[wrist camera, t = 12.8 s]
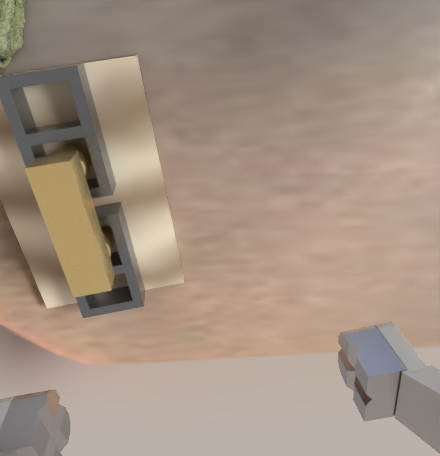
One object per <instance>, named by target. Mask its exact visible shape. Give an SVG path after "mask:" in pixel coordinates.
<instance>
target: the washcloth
mask: <svg viewBox="0 0 440 456" xmlns="http://www.w3.org/2000/svg"><path fill="white" fill-rule="evenodd" d="M24 3H25V2H24V0H0V68H5V67H6V66H8V64H9V62H10V61H11V57H12V54H14V53H16V51H17V50H19V49H21V47H22V45H23V39H22V37H23V35H22V34H23V28H24V24H25V23H26V20H25V15H24V11H25V10H24V8H23V6H24Z"/></svg>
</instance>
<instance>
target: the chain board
mask: <svg viewBox="0 0 440 456" xmlns="http://www.w3.org/2000/svg"><path fill="white" fill-rule="evenodd" d="M80 64H83V63H80ZM73 65H76V64H73ZM66 66H69V65H66ZM60 67H62V66H60ZM84 67H85V71H86V74H87V78H88V82H89V85H90V89H91V93H92V97H93V100H94V104H95V108H96V111H97V115H98V119H99V122H100V126H101V130H102V133H103V137H104V141H105V144H106V148H107V152H108V156H109V159H110V163H111V167H112V170H113V174H114V178H115V181H116V187H115V190H114V193H113V195H111V196H105V197H99V198H93V199H92V200H93V203H94V206H100V205H106V204H111V203H117V202H121V203H122V207H123V211H124V215H125V218H126V222H127V226H128V229H129V233H130V237H131V240H132V244H133V248H134V251H135V255H136V259H137V262H138V266H139V270H140V274H141V277H142V281H143V285H144V288H145V290H147V289H152V288H157V287H163V286H168V285H173V284H178V283H184V275H183V271H182V266H181V261H180V256H179V251H178V247H177V242H176V237H175V232H174V227H173V223H172V218H171V213H170V208H169V204H168V199H167V194H166V189H165V184H164V180H163V175H162V170H161V165H160V160H159V156H158V151H157V146H156V141H155V137H154V132H153V127H152V122H151V117H150V113H149V108H148V103H147V98H146V93H145V89H144V84H143V79H142V74H141V69H140V65H139V60H138V55H134V56H127V57H121V58H114V59H107V60H100V61H93V62H87V63H84ZM53 68H56V67H53ZM46 69H49V68H46ZM39 70H42V69H39ZM32 71H35V70H32ZM26 72H28V71H26ZM19 73H22V72H19ZM12 74H15V73H12ZM5 75H8V74H5ZM0 76H3V75H0ZM23 90H24V93H25V96H26V99H27V101H28V104H29V107H30V110H31V113H32V116H33V119H34V121H35V124H36V127H41V126H48V125H54V124H60V123H67V122H73V121H79V120H80V119H79V115H78V112H77V109H76V105H75V102H74V98H73V95H72V92H71V88H70V85H69V81H68V80H67V81H61V82H54V83H47V84H41V85H34V86H27V87H23ZM67 143H78V144H81V145H83V146H84V147H85V148H87V149H88V146H87V143H86V139H85V137H83V138H77V139H71V140H65V141H58V142H52V143H46V144H43V147H44V150H45V153H46V156H49V155H55V154H56V152H57V151H58V150H59V149H60V148H61V147H62V146H63V145H65V144H67ZM88 151H89V149H88ZM25 167H26V166H25V163H24V161H23V158H22V155H21V153H20V150H19V148H18V145H17V142H16V140H15V137H14V134H13V132H12V129H11V126H10V124H9V121H8V119H7V116H6V113H5V111H4V108H3V105H2V103H1V100H0V200H1V203H2V205H3V207H4V209H5V212H6V214H7V216H8V219H9V221H10V223H11V226H12V228H13V230H14V233H15V235H16V237H17V240H18V242H19V244H20V247H21V249H22V251H23V254H24V256H25V258H26V261H27V263H28V265H29V268H30V270H31V272H32V275H33V277H34V279H35V282H36V284H37V286H38V289H39V291H40V293H41V296H42V298H43V300H44V303H45V305H46V307H47V308H53V307H58V306H63V305H68V304H74V303H77V300H76V298H74V297H73V295H72V292H71V290H70V287H69V284H68V282H67V279H66V277H65V274H64V271H63V269H62V266H61V264H60V261H59V258H58V256H57V253H56V250H55V248H54V245H53V243H52V240H51V237H50V235H49V232H48V230H47V227H46V224H45V222H44V219H43V216H42V214H41V211H40V209H39V206H38V203H37V201H36V198H35V196H34V193H33V190H32V188H31V185H30V182H29V180H28V177H27V175H26V172H25V169H24V168H25ZM92 178H97V177H96V173H95V170H94V166H93V163H92V165H91V167H90V169H89V171H88V173H87V175H86V179H92ZM107 226H109V227H110V228H111V225H107ZM111 229H112V228H111ZM112 252H118V248H117V245H116V241H115V239H114V243H113V248H112ZM112 252H111V253H112ZM125 286H128V282H127V279H126V275H125V273H121V274H116V275H114V281H113V286H112V289H114V288H120V287H125Z"/></svg>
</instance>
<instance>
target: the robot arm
mask: <svg viewBox="0 0 440 456" xmlns="http://www.w3.org/2000/svg"><path fill="white" fill-rule="evenodd" d="M338 342H339V344H340V346H341V348H342V349H341V350H340V351H339V352H338V362H339V368H340V372H341V375H342V377H343V379H344V381H345V384H346V385H347V387H349V388H350V389H352V390H353V391H354V398H353V400H354V402H355V404H356V406H357V408H358V410H359V412H360V414H361V416H362V418H363V420H364V421H369V420H375V419H380V418H386V417H392V416H395V418H396V419H397V420H398V421H399V422H401V423H402V424H403V425H405V426H406V427H407V428H408V429H410V430H411V431H412V432H414V433H415V434H416V435H417V436H418V437H420V438H421V439H422V440H423V441H425V442H426V443H427V444H429V445H430V446H431V447H432V448H434V449H435V450H436V451H437V452H438V453H440V370H439V369H438V368H436V367H434V366H426V365H425V364H424V362H423V361H422V360H421V358H420V357H419V356H418V354H417V353H416V352H415V350H414V349H413V348H412V346H411V345H410V344H409V343H408V341H407V340H406V339H405V337H404V336H403V335H402V333H401V332H400V331H399V329H398V328H397V327H396V325H395V324H393V323H392V322H390V323H385V324H380V325H375V326H369V327H364V328H359V329H354V330H350V331H345V332H340V334H339V340H338ZM59 399H60V397H59V395H58V393H57V392H56V390H49V391H43V392H37V393H31V394H25V395H20V396H15V397H9V398H4V399H0V456H62V454H61V453H60V452H61V451H62V450H63V448H64V447H65V446H66V445H67V443H68V440H69V435H70V418H69V414H68V412H67V410H66V408H65V407H63V406H61V405H59V404H58V403H59Z"/></svg>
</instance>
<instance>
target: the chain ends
mask: <svg viewBox="0 0 440 456" xmlns="http://www.w3.org/2000/svg"><path fill="white" fill-rule="evenodd" d="M67 80H68V81H69V85H70V88H71V92H72V95H73V98H74V102H75V105H76V109H77V112H78V115H79V119H80V120H79V121H73V122H67V123H60V124H54V125H48V126H41V127H36V124H35V121H34V119H33V116H32V113H31V110H30V107H29V104H28V101H27V99H26V96H25V93H24V90H23V87H27V86H34V85H41V84H47V83H54V82H61V81H67ZM0 100H1V103H2V105H3V108H4V111H5V113H6V116H7V119H8V121H9V124H10V126H11V129H12V132H13V134H14V137H15V140H16V142H17V145H18V148H19V150H20V153H21V155H22V158H23V161H24V163H25V166H27V165H28V164H29V163H31V162H32V161H33V160H34V159H35V158H37V157H43V156H46V153H45V150H44V147H43V144H46V143H52V142H58V141H65V140H71V139H77V138H83V137H85V139H86V143H87V146H88V149H89V153H90V156H91V160H92V163H93V166H94V170H95V173H96V177H97V178H92V179H86V181H87V184H88V187H89V190H90V193H91V197H92V199H93V198H99V197H105V196H111V195H113V193H114V190H115V187H116V181H115V178H114V174H113V170H112V167H111V163H110V159H109V156H108V152H107V148H106V144H105V141H104V137H103V133H102V130H101V126H100V122H99V119H98V115H97V111H96V108H95V104H94V100H93V97H92V93H91V89H90V85H89V82H88V78H87V74H86V71H85V67H84V63H83V64H76V65H69V66H62V67H56V68H49V69H42V70H35V71H28V72H22V73H15V74H8V75H3V76H0ZM95 210H96V213H97V216H98V219H99V223H100V226H107V225H111V228H112V231H113V235H114V238H115V241H116V245H117V248H118V252H112V253H111V257H110V258H111V262H112V265H113V268H114V271H115V275H116V274H121V273H125V275H126V279H127V282H128V286H125V287H120V288H114V289H112V291H106V292H101V293H96V294H91V295H85V296H80V297H75V298H76V300H77V303H78V306H79V308H80V311H81V314H82V316H83V318H86V317H91V316H96V315H101V314H107V313H112V312H117V311H122V310H127V309H132V308H138V307H143V306H144V298H145V288H144V285H143V281H142V277H141V274H140V270H139V266H138V262H137V259H136V255H135V251H134V248H133V244H132V240H131V237H130V233H129V229H128V226H127V222H126V218H125V215H124V211H123V207H122V203H121V202H117V203H111V204H106V205H100V206H95Z"/></svg>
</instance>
